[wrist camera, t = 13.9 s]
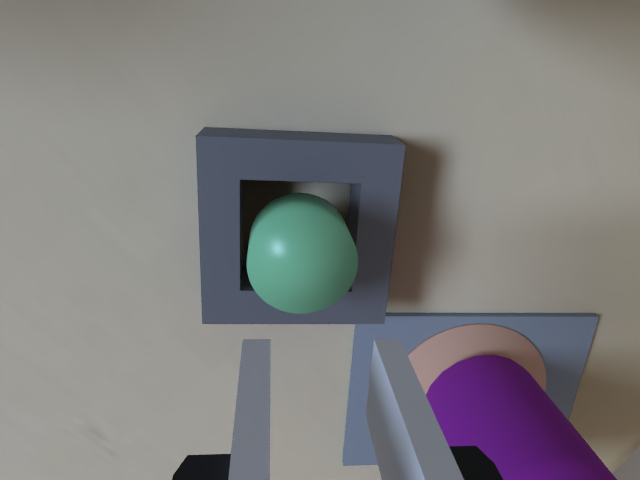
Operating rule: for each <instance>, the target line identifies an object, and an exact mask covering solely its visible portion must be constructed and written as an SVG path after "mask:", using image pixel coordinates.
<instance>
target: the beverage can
mask: <svg viewBox="0 0 640 480" xmlns="http://www.w3.org/2000/svg"><path fill="white" fill-rule="evenodd" d="M426 397H427V399H428V401H429V404H430V406H431V408H432V410H433V412H434V415H435V417H436V419H437V421H438V423H439V426H440V428H441V430H442V432H443V434H444V437H445V439H446V441H447V443H448V445H449V446H477V447H478V448H479V449H480V450H481V451H482V452H483V453H484V454H485V455H486V456H487V457H488V458H490V459H491V460H492V461H493V462H494V463H495V465H496V467H497V469H498V471H499V473H500V474H501V476H502V478H503V480H617V479H616V478H615V477H614V476H613V474H612V473H611V472H610V471H609V470H608V468H607V467H606V466H605V465H604V463H603V462H602V461H601V460H600V459H599V457H598V456H597V455H596V454H595V452H594V451H593V450H592V449H591V448H590V446H589V445H588V444H587V443H586V441H585V440H584V439H583V438H582V437H581V435H580V434H579V433H578V432H577V430H576V429H575V428H574V427H573V426H572V424H571V423H570V422H569V421H568V419H567V418H566V417H565V416H564V415H563V413H562V412H561V411H560V410H559V408H558V407H557V406H556V405H555V404H554V402H553V401H552V400H551V399H550V397H549V396H548V395H547V394H546V393H545V391H544V390H543V389H542V388H541V386H540V385H539V384H538V383H537V382H536V380H535V379H534V378H533V377H532V375H531V374H530V373H529V372H528V371H527V370H526V369H525V368H524V367H523V366H521V365H520V364H518V363H516V362H515V361H513V360H512V359H510V358H506V357H502V356H498V355H479V356H473V357H470V358H467V359H464V360H461V361H459V362H457V363H455V364H454V365H452V366H450V367H449V368H447V369H446V370H444V371H443V372H442V373H441V374H440V375H439V376H438V377H437V378H436V379H435V381H434V382H433V383H432V384H431V385H430V387H429V389H428V392H427V394H426Z"/></svg>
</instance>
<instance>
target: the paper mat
mask: <svg viewBox="0 0 640 480" xmlns="http://www.w3.org/2000/svg"><path fill="white" fill-rule="evenodd" d="M598 319H599V316H598V315H596V314H532V313H386V315H385V324H355V335H354V345H353V356H352V366H351V377H350V387H349V398H348V409H347V419H346V430H345V440H344V451H343V466H349V465H378V463H377V459H376V455H375V451H374V447H373V443H372V439H371V436H370V432H369V428H368V424H367V420H366V407H367V398H368V389H369V380H370V371H371V362H372V353H373V344H374V339H400V340H401V342H402V344H403V347H404V349H405V351H406V353H407V355H408V358H409V360H410V362H411V364H412V366H413V369H414V371H415V373H416V375H417V377H418V380H419V382H420V384H421V386H422V388H423V391H424V393H425V395H426V394H427V392H428V389H429V387H430V385H431V384H432V383H433V382H434V381H435V379H436V378H437V377H438V376H439V375H440V374H441V373H442V372H443V371H444V370H446V369H447V368H449V367H450V366H452V365H454V364H455V363H457V362H459V361H461V360H464V359H467V358H470V357H473V356H479V355H498V356H502V357H506V358H510V359H512V360H513V361H515V362H516V363H518V364H520V365H521V366H523V367H524V368H525V369H526V370H527V371H528V372H529V373H530V374H531V375H532V377H533V378H534V379H535V380H536V382H537V383H538V384H539V385H540V386H541V388H542V389H543V390H544V391H545V393H546V394H547V395H548V396H549V397H550V399H551V400H552V401H553V402H554V404H555V405H556V406H557V407H558V408H559V410H560V411H561V412H562V413H563V415H564V416H565V417H566V418H567V419H569V416H570V413H571V409H572V406H573V403H574V399H575V396H576V393H577V389H578V386H579V383H580V379H581V376H582V373H583V369H584V366H585V363H586V359H587V356H588V353H589V349H590V346H591V343H592V339H593V336H594V332H595V329H596V326H597V322H598Z"/></svg>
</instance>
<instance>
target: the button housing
mask: <svg viewBox="0 0 640 480" xmlns="http://www.w3.org/2000/svg"><path fill="white" fill-rule="evenodd" d="M405 147H406V145H405V144H404V143H402V142H401V141H399V140H398V139H396V138H395V137H393V136H392V135H370V134H347V133H325V132H302V131H279V130H257V129H234V128H211V127H204V128H203V129H202V130H201V131H200V132H199V133H198V134H197V135H196V153H197V182H198V211H199V239H200V268H201V297H202V324H385V315H386V307H387V298H388V290H389V282H390V273H391V265H392V256H393V248H394V240H395V231H396V223H397V214H398V206H399V198H400V189H401V181H402V172H403V164H404V156H405ZM243 180H269V181H300V182H330V183H351V192H350V205H349V217H348V230H349V232H350V234H351V237H352V239H353V241H354V244H355V246H356V250H357V254H358V268H357V273H356V276H355V279H354V281H353V284H352V285H351V287H350V289H349V290H348V291H347V293H346V294H345V295H344V296H343V297H342V298H341V299H340V300H339V301H337V302H336V303H335V304H333V305H331V306H330V307H328V308H326V309H323V310H321V311H317V312H313V313H307V314H294V313H288V312H284V311H281V310H279V309H276V308H274V307H272V306H271V305H269V304H267V303H266V302H265V301H264V300H262V298H261V297H260V296H259V295H258V294H257V293H256V292H255V290H254V289H253V287H252V285H251V283H250V280H249V277H248V273H247V268H243Z"/></svg>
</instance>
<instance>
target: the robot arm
mask: <svg viewBox="0 0 640 480" xmlns="http://www.w3.org/2000/svg"><path fill="white" fill-rule="evenodd" d="M366 420H367V424H368V428H369V432H370V436H371V439H372V443H373V447H374V451H375V455H376V459H377V463H378V466H379V470H380V474H381V478H382V480H503V478H502V476H501V474H500V473H499V471H498V469H497V467H496V465H495V463H494V462H493V461H492V460H491V459H490V458H488V457H487V456H486V455H485V454H484V453H483V452H482V451H481V450H480V449H479V448H478V447H477V446H449V445H448V443H447V441H446V439H445V437H444V434H443V432H442V430H441V428H440V426H439V423H438V421H437V419H436V417H435V415H434V412H433V410H432V408H431V406H430V404H429V401H428V399H427V397H426V395H425V393H424V391H423V388H422V386H421V384H420V382H419V380H418V377H417V375H416V373H415V371H414V369H413V366H412V364H411V362H410V360H409V358H408V355H407V353H406V351H405V349H404V347H403V344H402V342H401V340H400V339H374V344H373V353H372V362H371V371H370V380H369V389H368V398H367V407H366ZM172 480H270V339H243V343H242V352H241V362H240V372H239V381H238V391H237V401H236V411H235V420H234V430H233V440H232V449H231V454H215V455H188V456H187V457H186V458H185V460H184V461H183V462H182V464H181V465H180V467H179V468H178V469H177V471H176V472H175V473H174V475H173V479H172Z"/></svg>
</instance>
